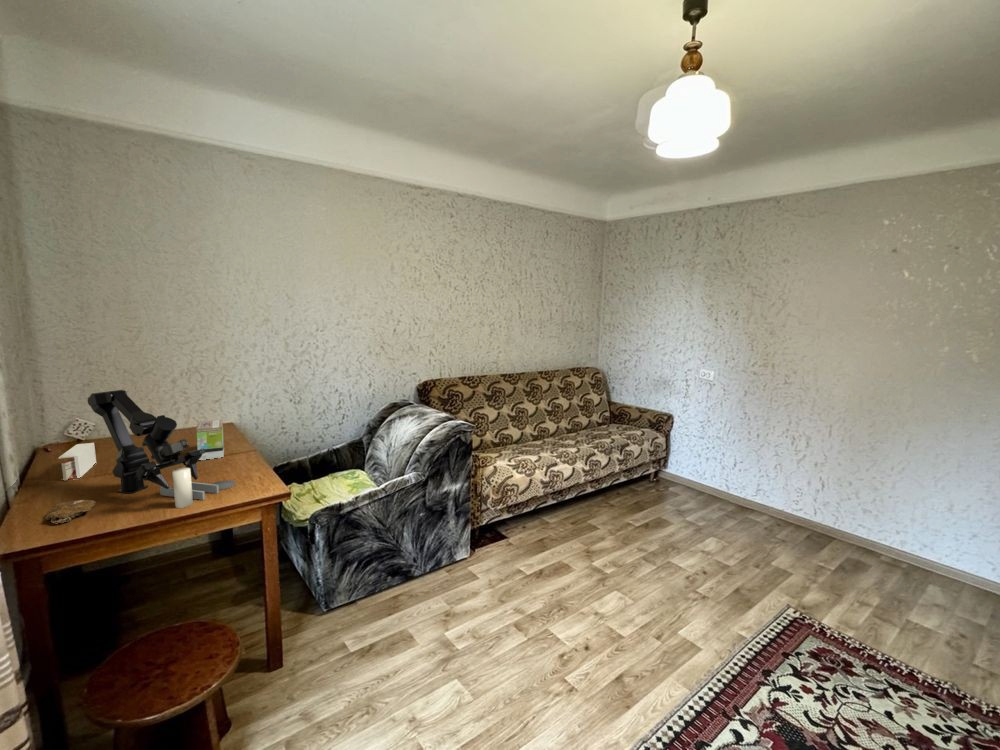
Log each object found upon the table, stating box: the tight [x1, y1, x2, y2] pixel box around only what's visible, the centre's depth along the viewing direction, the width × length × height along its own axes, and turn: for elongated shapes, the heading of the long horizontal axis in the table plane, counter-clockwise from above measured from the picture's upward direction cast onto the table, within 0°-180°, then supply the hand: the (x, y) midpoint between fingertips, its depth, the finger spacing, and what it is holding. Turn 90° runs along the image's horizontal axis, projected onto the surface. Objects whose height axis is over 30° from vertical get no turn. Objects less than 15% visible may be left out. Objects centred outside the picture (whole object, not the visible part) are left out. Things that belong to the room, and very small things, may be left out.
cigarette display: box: [58, 442, 97, 481], centre depth 178 cm, size 20×6×9 cm, turn 28°
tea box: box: [195, 419, 225, 461], centre depth 202 cm, size 15×10×15 cm
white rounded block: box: [171, 467, 194, 509], centre depth 151 cm, size 5×5×12 cm
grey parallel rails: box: [159, 481, 220, 501], centre depth 160 cm, size 18×7×3 cm, turn 79°
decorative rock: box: [44, 499, 96, 525], centre depth 142 cm, size 11×4×15 cm
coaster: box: [211, 479, 237, 491], centre depth 168 cm, size 9×9×1 cm
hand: (182, 483), depth 150 cm, fingers open, 9 cm apart
